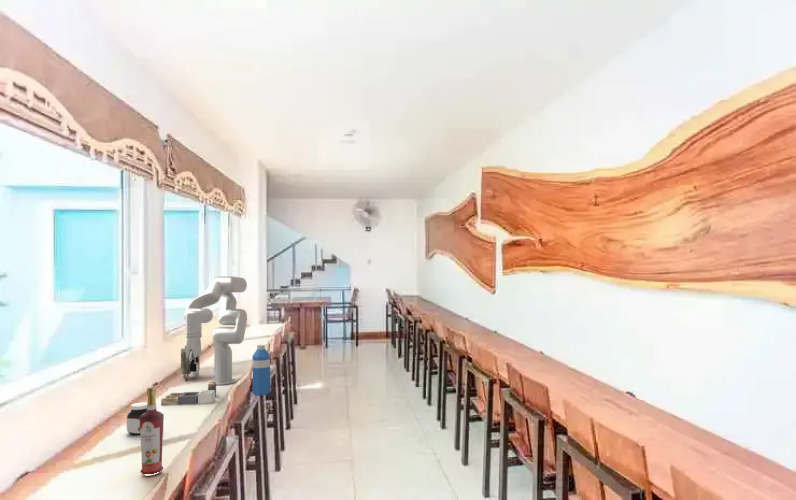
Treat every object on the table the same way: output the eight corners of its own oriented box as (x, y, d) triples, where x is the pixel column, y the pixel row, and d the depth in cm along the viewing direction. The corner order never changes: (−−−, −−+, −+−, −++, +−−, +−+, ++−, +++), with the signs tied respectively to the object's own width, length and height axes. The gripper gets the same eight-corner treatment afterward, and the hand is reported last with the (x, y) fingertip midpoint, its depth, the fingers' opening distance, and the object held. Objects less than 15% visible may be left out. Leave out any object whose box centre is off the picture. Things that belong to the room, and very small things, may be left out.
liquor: (167, 469, 189) (166, 385, 190) (159, 477, 182) (158, 390, 182) (145, 469, 189) (144, 385, 189) (135, 478, 182) (135, 390, 182)
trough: (170, 398, 285) (170, 392, 285) (186, 398, 286) (186, 392, 286) (161, 405, 273) (161, 398, 273) (177, 404, 274) (177, 398, 274)
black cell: (209, 395, 291) (209, 382, 291) (217, 395, 291) (217, 382, 291) (206, 397, 287) (206, 383, 287) (214, 397, 287) (214, 383, 287)
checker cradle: (184, 399, 283) (184, 392, 283) (202, 399, 283) (202, 391, 283) (177, 404, 274) (177, 396, 274) (196, 404, 274) (196, 396, 274)
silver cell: (192, 375, 292) (191, 361, 291) (200, 375, 292) (199, 361, 292) (189, 377, 288) (189, 363, 287) (197, 377, 288) (197, 363, 288)
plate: (187, 396, 281) (187, 395, 281) (196, 396, 281) (196, 395, 281) (183, 399, 276) (183, 397, 276) (193, 399, 276) (193, 397, 276)
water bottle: (273, 391, 299) (272, 343, 299) (267, 395, 290) (266, 346, 290) (255, 391, 300) (255, 343, 300) (249, 395, 291) (249, 346, 291)
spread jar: (125, 437, 225) (124, 407, 225) (130, 428, 236) (130, 400, 236) (157, 434, 228) (157, 405, 228) (161, 426, 239) (161, 398, 239)
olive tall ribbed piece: (181, 377, 338) (180, 335, 338) (197, 375, 342) (196, 334, 342) (182, 382, 325) (182, 338, 325) (199, 380, 328) (199, 337, 329)
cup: (202, 400, 281) (202, 390, 281) (215, 400, 281) (215, 390, 281) (198, 403, 275) (197, 393, 275) (211, 403, 275) (211, 393, 275)
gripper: (191, 332, 297) (192, 367, 298) (180, 337, 281) (181, 374, 281) (206, 332, 298) (207, 366, 298) (196, 337, 281) (196, 374, 281)
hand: (194, 370), depth 290 cm, fingers closed on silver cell, 4 cm apart
